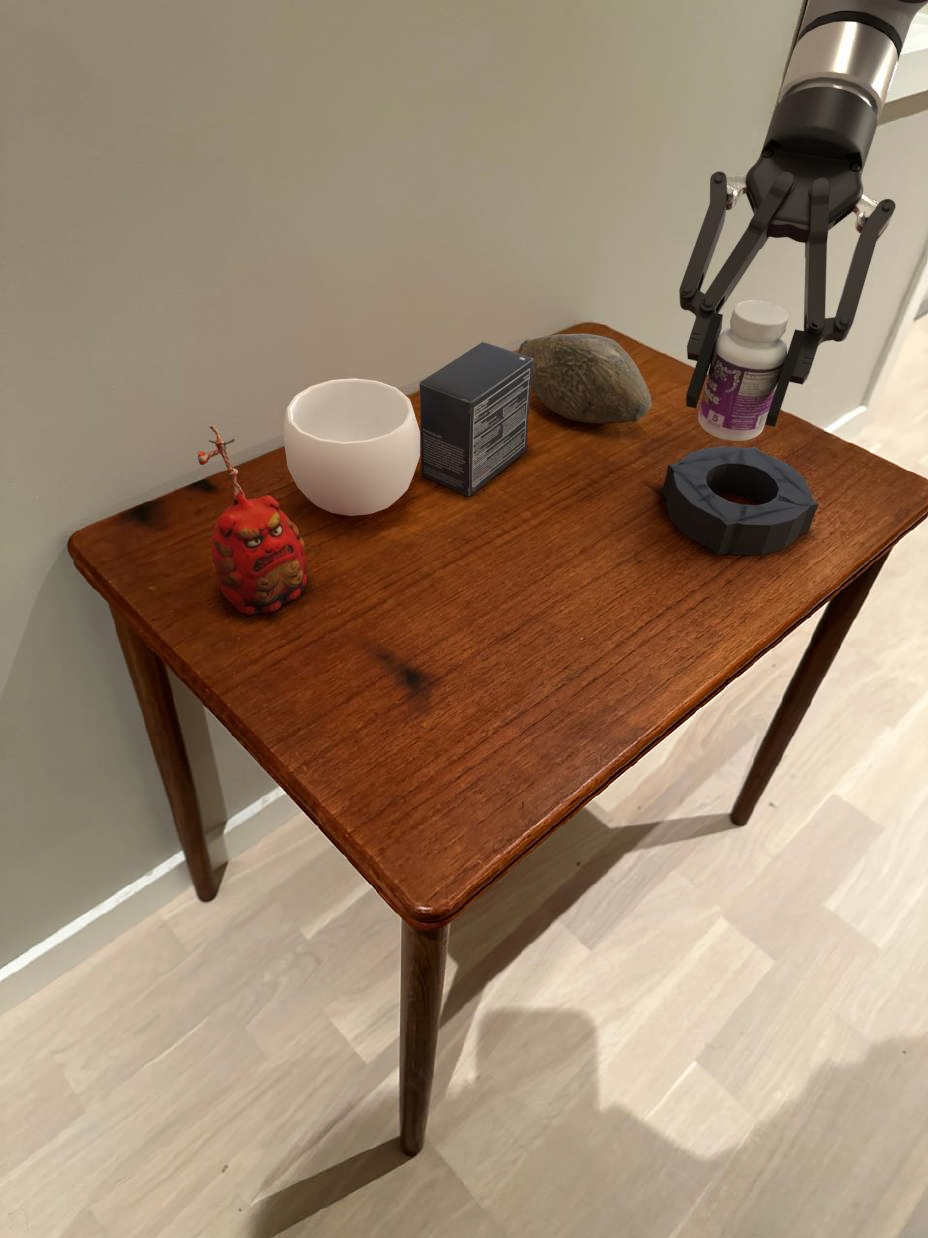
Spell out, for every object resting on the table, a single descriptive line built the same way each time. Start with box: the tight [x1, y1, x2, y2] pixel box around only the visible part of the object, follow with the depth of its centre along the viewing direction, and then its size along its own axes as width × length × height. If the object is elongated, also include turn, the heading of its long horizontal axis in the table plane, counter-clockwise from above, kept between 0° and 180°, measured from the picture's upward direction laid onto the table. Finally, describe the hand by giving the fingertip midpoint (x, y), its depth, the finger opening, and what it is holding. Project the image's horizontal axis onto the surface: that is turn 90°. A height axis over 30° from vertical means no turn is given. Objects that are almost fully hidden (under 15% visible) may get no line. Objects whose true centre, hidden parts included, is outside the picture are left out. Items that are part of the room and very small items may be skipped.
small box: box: [418, 341, 533, 497], centre depth 85 cm, size 11×6×10 cm, turn 144°
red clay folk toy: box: [197, 425, 308, 616], centre depth 68 cm, size 8×7×15 cm
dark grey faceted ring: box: [661, 445, 820, 556], centre depth 82 cm, size 12×12×4 cm
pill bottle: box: [697, 299, 790, 442], centre depth 67 cm, size 5×5×10 cm
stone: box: [518, 333, 652, 425], centre depth 94 cm, size 17×9×8 cm, turn 52°
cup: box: [282, 377, 421, 517], centre depth 80 cm, size 12×12×10 cm
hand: (730, 410), depth 65 cm, fingers closed on pill bottle, 5 cm apart
